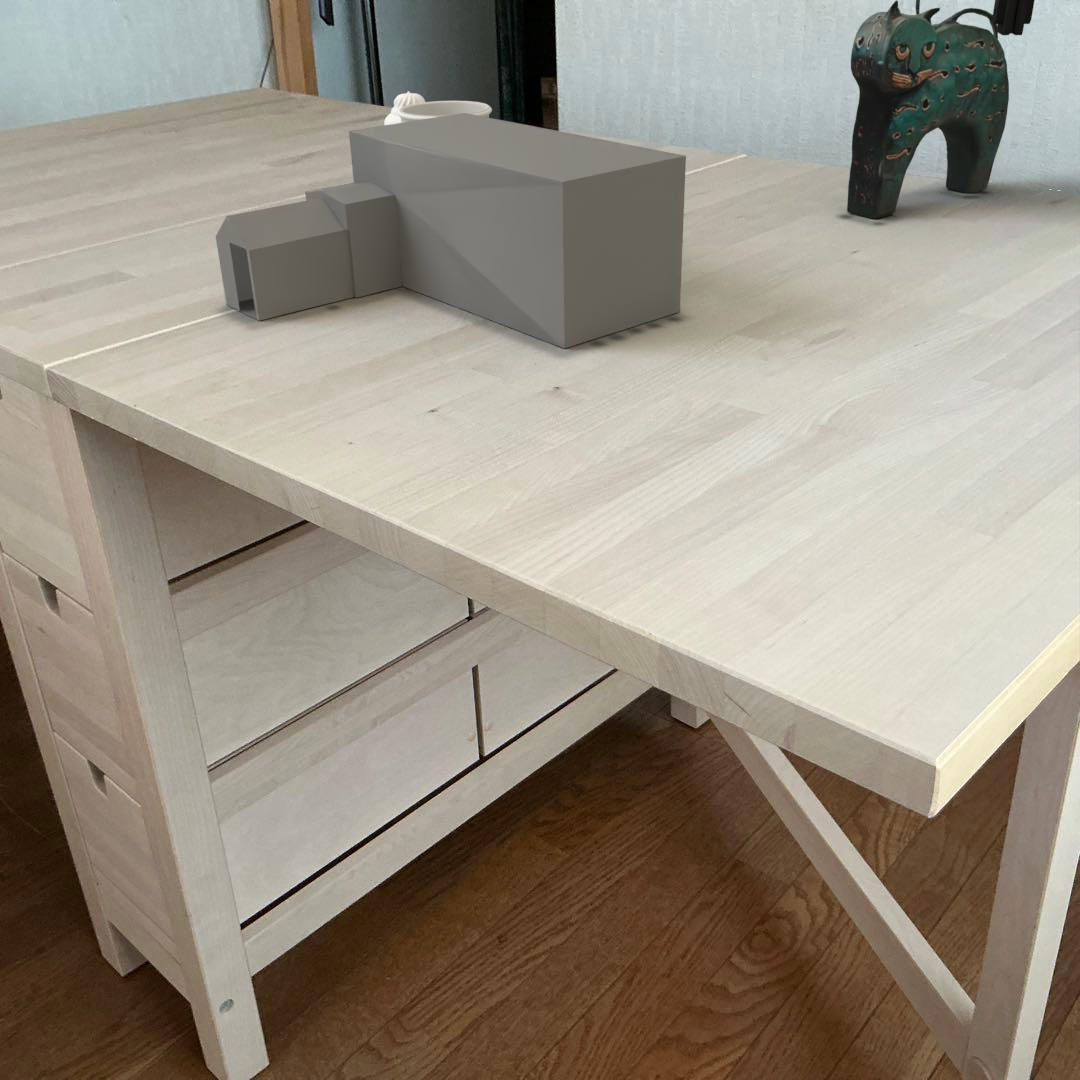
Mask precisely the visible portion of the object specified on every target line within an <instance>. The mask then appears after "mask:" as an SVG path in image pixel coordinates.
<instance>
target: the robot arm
mask: <svg viewBox="0 0 1080 1080" xmlns="http://www.w3.org/2000/svg"><path fill="white" fill-rule="evenodd" d="M1034 6H1035V0H994V5H993V10H992V15H993V17H992V23H993V24H997V32H998V35H1001V36H1010V35H1011V34H1012V35H1013V36H1022V35H1023V33H1024V27H1025V25H1030V24H1031V22H1032V17H1033V13H1034Z"/></svg>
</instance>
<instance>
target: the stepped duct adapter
mask: <svg viewBox="0 0 1080 1080" xmlns="http://www.w3.org/2000/svg"><path fill="white" fill-rule="evenodd" d="M348 136H349V137H348V138H349V147H350V157H351V167H352V177H353V178H352V179H353V182H349V183H345V184H339V185H333V186H328V187H323V188H317V189H311V190H307V191H304V193H305V200H302V201H298V202H297V201H296V202H293V203H292V202H291V203H287V204H282V205H278V206H271V207H267V208H262V209H256V210H252V211H246V212H240V213H236V214H231V215H226V216H225V218H224V220H223V222H222V224H221V226H220V228H219V230H218V232H217V233H216V235H215V241H216V248H217V253H218V254H217V255H218V261H219V266H220V267H219V268H220V273H221V280H222V285H223V292H224V298H225V305H226V306H228V307H230V308H232V309H235V310H236V311H238V312H240V313H243V314H245V315H246V316H249V317H251V318H253V319H255V320H256V321H259V322H261V321H263V320H267V319H272V318H276V317H279V316H283V315H289V314H292V313H295V312H300V311H303V310H307V309H311V308H316V307H319V306H324V305H328V304H331V303H336V302H340V301H344V300H347V299H351V298H361V297H365V296H370V295H373V294H377V293H381V292H385V291H389V290H393V289H397V288H401V287H403V288H405V289H409V290H411V291H414V292H416V293H419V294H420V295H425V296H427V297H430V298H432V299H435V300H436V301H440V302H443V303H445V304H448V305H450V306H453V307H455V308H458V309H459V310H460V309H461V310H463V311H466V312H469V313H472V314H473V315H476V316H479V317H482V318H484V319H487V320H489V321H492V322H494V323H497V324H499V325H501V326H505V327H506V328H507V327H508V328H510V329H513V330H516V331H518V332H520V333H523V334H526V335H528V336H531V337H534V338H536V339H539V340H541V341H544V342H547V343H549V344H551V345H554V346H557V347H559V348H563V349H567V348H570V347H574V346H577V345H580V344H583V343H587V342H589V341H593V340H595V339H599V338H602V337H605V336H609V335H611V334H614V333H618V332H621V331H624V330H627V329H630V328H634V327H637V326H639V325H643V324H646V323H649V322H652V321H657V320H659V319H662V318H665V317H668V316H671V315H674V314H678V313H680V312H681V293H682V270H683V268H682V266H683V243H684V241H683V239H684V215H685V194H686V193H685V192H686V191H685V190H686V169H687V168H686V167H687V166H686V164H687V155H686V154H685V155H684V154H679V153H675V152H669V151H664V150H660V149H659V150H658V149H653V148H648V147H642V146H638V145H631V144H627V143H622V142H616V141H612V140H607V139H601V138H596V137H591V136H586V135H580V134H576V133H570V132H565V131H561V130H554V129H550V128H544V127H539V126H534V125H529V124H523V123H518V122H514V121H509V120H503V119H498V118H492V117H489V118H488V117H483V116H477V115H472V114H467V113H460V114H454V115H448V116H442V117H435V118H429V119H423V120H416V121H410V122H404V123H397V124H391V125H385V126H384V125H379V126H374V127H367V128H361V129H360V128H359V129H354V130H348Z"/></svg>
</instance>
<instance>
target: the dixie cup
mask: <svg viewBox="0 0 1080 1080" xmlns="http://www.w3.org/2000/svg"><path fill="white" fill-rule="evenodd" d="M492 111H493V109H492V107H491V106H490V105H489V104H487V103H485V102H481V101H473V100H472V101H471V100H436V101H435V100H433V101H425V102H424V103H417V104H411V105H407V106H404V107H402V108H401V109H400V110H399V111H398V116H399V117H401V122H402V123H404V122H410V121H416V120H423V119H429V118H435V117H442V116H448V115H454V114H460V113H467V114H472V115H477V116H483V117H488V118H490V114H491V113H492Z"/></svg>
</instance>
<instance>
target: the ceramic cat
mask: <svg viewBox="0 0 1080 1080" xmlns="http://www.w3.org/2000/svg"><path fill="white" fill-rule="evenodd" d="M914 6H915V14H906V13H904V12H903V13H902V12H901V10H900V8H899V1H898V0H895V1H894V2H892V4H891V6H890V7H889V9H888V10H887V11H878V12H875V13H873V14H871V15H869V17H868V18H866V19H865V20H864V21H863V22H862V23H861V24H860V26H859V28H858V30H857V32H856V34H855V37H854V39H853V44H852V49H851V52H850V53H851V55H850V70H851V74H852V77H853V78H854V80H855V83H856V84H857V86H858V90H859V96H858V104H857V108H856V115H855V121H854V124H853V130H852V137H851V164H850V168H849V179H848V185H847V189H848V190H847V204H846V205H847V206H846V210H847V213H849V214H852V215H856V216H859V217H865V218H868V219H873V220H876V219H880V218H881V219H882V218H884V217H888V216H889V217H890V216H893V215H894V214H895V213H896V210H897V206H898V203H899V198H900V195H901V190H902V186H903V183H904V179H905V176H906V173H907V171H908V168H909V167H910V164H911V163H912V160H913V158H914V156H915V154H916V151H917V148H918V147H919V145H920V143H921V142H922V140H923V139H924V138H925V137H926V135H927V134H929V133H931V132H933V131H935V130H937V129H939V130H940V131H941V133H942V134H943V137H944V140H945V143H946V144H945V145H946V165H947V167H946V178H945V188H946V190H951V191H955V192H959V193H962V194H963V193H964V194H966V193H968V194H970V193H971V194H974V193H975V194H976V193H980V192H982V191H984V190H987V188H988V186H989V182H990V180H991V179H990V178H991V174H992V171H993V167H994V162H995V160H996V157H997V153H998V151H999V147H1000V144H1001V141H1002V138H1003V134H1004V132H1005V129H1006V123H1007V116H1008V108H1009V102H1010V81H1009V74H1008V63H1007V58H1006V55H1005V50H1004V48H1003V47H1002V44H1001V42H1000V41H999V33H998V32H997V25H998V24H993V23H992V17H993V13H991V12H989V11H988V10H984V9H981V8H974V7H969V8H964V9H962V10H959V11H956V12H955V13H954V14H952V15H951V16H949V17H948V18H946V19H944V20H943V21H941V22H939V23H933V24H932V18H933V16H934V15H936V14H938V13H939V12H940V10H941V7H934V8H930V9H927V10H925V11H923V12H921V13H920V6H921V0H915V5H914ZM966 14H976V15H978V16H983V17H985V18H987V19H988V22H989V24H990V26H991V28H992V32H991V30H989V29H987V28H983V27H980V26H975V25H969V24H962V23H960V22H959V21H958V20H959V18H960V17H962V16H963V15H966Z"/></svg>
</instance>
